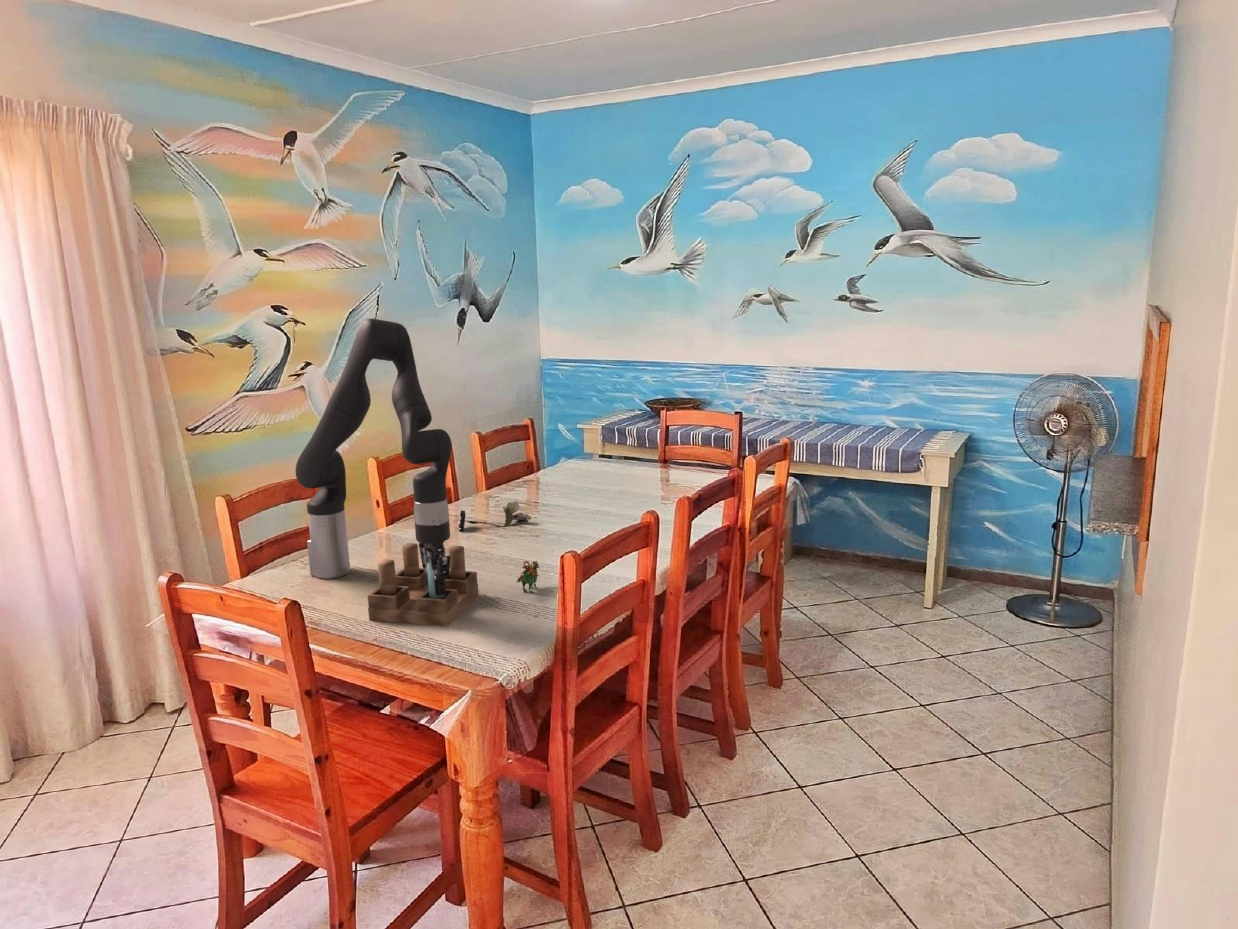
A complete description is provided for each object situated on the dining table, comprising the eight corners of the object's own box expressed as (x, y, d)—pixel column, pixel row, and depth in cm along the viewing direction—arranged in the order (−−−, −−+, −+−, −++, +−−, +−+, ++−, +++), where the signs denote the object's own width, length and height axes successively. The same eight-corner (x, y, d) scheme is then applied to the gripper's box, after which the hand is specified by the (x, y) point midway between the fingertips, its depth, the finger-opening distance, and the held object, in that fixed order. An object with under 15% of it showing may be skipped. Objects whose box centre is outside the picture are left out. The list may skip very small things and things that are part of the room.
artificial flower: (456, 530, 258) (458, 499, 258) (527, 532, 263) (529, 501, 264) (458, 531, 249) (460, 498, 250) (531, 533, 254) (533, 501, 255)
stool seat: (369, 620, 186) (364, 566, 183) (407, 590, 204) (403, 540, 201) (446, 626, 182) (443, 571, 179) (478, 594, 200) (475, 544, 198)
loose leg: (433, 608, 183) (430, 566, 181) (427, 603, 186) (424, 562, 184) (448, 605, 185) (445, 563, 183) (442, 600, 188) (439, 558, 186)
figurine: (544, 584, 207) (543, 553, 205) (523, 601, 196) (521, 569, 194) (533, 582, 208) (532, 552, 206) (511, 599, 197) (510, 567, 195)
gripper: (404, 514, 185) (410, 585, 189) (426, 529, 173) (432, 605, 177) (436, 509, 189) (441, 579, 193) (460, 523, 177) (464, 597, 181)
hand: (436, 591), depth 185 cm, fingers open, 4 cm apart
